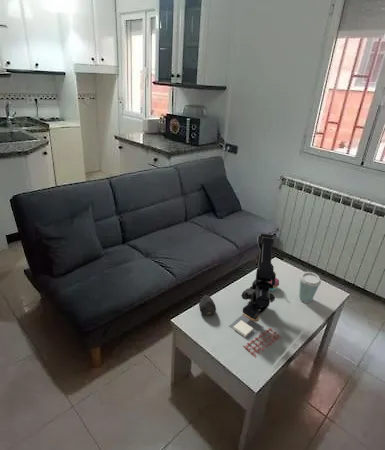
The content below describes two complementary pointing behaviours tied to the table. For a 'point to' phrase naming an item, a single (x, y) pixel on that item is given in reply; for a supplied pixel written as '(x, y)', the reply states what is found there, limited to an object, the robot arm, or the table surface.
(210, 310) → the stone
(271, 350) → the table surface
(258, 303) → the robot arm
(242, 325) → the tile
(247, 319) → the mat
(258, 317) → the turner
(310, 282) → the disposable coffee cup
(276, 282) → the cupcake
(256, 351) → the red lattice rack
